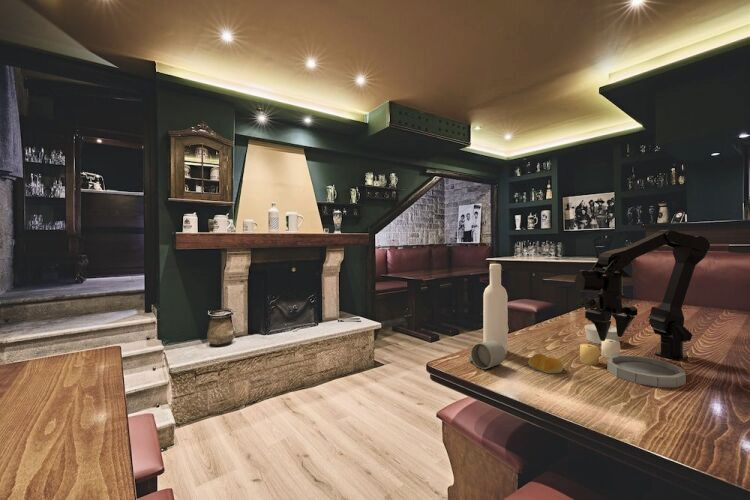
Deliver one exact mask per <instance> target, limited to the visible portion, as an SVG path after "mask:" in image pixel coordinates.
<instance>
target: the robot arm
mask: <svg viewBox="0 0 750 500" xmlns="http://www.w3.org/2000/svg"><path fill="white" fill-rule="evenodd" d="M665 245H666V246H667V247H669V248H671V249H672V254H673V258H674V261H675V262H674V265H673V267H672V268H673V269H672V271H671V275H670V277H669V281H668V284H667V286H666V287H667V288H666V290H665V292H664V296H663V299H662V302H661V304H659V306H652V307H651V308H650V313H649V315H648V317H647V318H648V319H649V320H648V324H649V325H650V327H651V328H652V330H653V332H654V333H653V334H655V335H659V336H660V337H659V339H660V340H659V341H660V343H659V344H660V345H659V351H657V352H654V355H656V356H659V357H664V358H668V359H672V360H675V361H681V360H684V359H689V355H688V354H687V355H686V354H684V343H685V342H691V340H692V337H693V333H691V332H690V331H689V330H688V329H687V328H686V327H685V316H684V313H683V304H684V302H685V300H686V295H687V293H688V290H689V287H690V283H691V280H692V277H693V274H694V271H695V269H696V266H697V265H698V264H699V263H701V262H702V260H704V259H705V257H706V255H707V254H708V252H709V250H710V247H711V244H710V241H708V239H707V238H706V237H705V236H702V235H699V236H698V235H691V234H687V233H682V232H678V231H675V230H673V229H666V230H665V229H661V230H658V231H656V232H655V233H653V234H651V235H649V236H647V237H644V238H642V239H640V240H638V241H635V242H633V243H631V244H628V245H627V246H624V247H619V248H615V249H611V250H607V251H604V252H601V253H600V254H599V255H598V258H597V261H596V262H595V263H594V265H593V266H592V267H591V268H590V270H584V269H579V270H578V273H577V274H576V277H575V279H574V286H575V288H576V290H577V291H578V292H599V291H600V293H597V294H596V297H595V298H591V297H590V296H584V297H581V298H580V306H581V307H583V308H584V309H585V311H584V318H585V319H587V321H590V322H591V324H594V325H595V327H596V329H597V332H598V335H599V338H600V340H601V341H605V339H606V336H607V333H608V331H609V328H610V326H612V325H611V324H612V320H611V319H612V318H613V319H614V321H615V327H616V329H617V336H618V337H619V338H623V335H624V334H625V332H626V331H627V329H628V327H629V326H630V324H631V323H632V322H633V321H634V319H635V318H636V317H635V316H638V309H637V308H636V306H633V305H627V304H623V299H626V294H623V280H624V279H623V278H630V277H631V275H630V274H629V273H628V272H627V271H626V270H625V268H626V267H628V266H630V265H631V264H632V263H633V262H634V260H636V259H638V258H639V257H641V256H644V255H646V254H648V253H650V252H652V251H655V250H656V249H659V248H661V247H664V246H665Z"/></svg>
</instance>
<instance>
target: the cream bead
mask: <svg viewBox="0 0 750 500" xmlns="http://www.w3.org/2000/svg"><path fill="white" fill-rule="evenodd" d="M600 347H601V351H600V352H601V355H600V356H602V357H603V358H605V359H607V357H610V356H614V355H621V342H620V341H619V340H618V341H616V340H611V339H605V341H602V345H601V346H600Z"/></svg>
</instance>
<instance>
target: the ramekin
mask: <svg viewBox="0 0 750 500" xmlns="http://www.w3.org/2000/svg"><path fill="white" fill-rule="evenodd" d="M584 330H585V335H586V339H587V340H588V341H589V342H590V343H594V344H595V345H596V344H597V345H601V346H602V341H601V340H600V338H599V335H598V332H597V329H596V327H595V325H594V324H593V323H591V324H585V325H584ZM606 339H611V340H616V341H619V339H620V337H618V336H617V329H616V326H613V325H610V328H609V331H608V333H607V336H606Z"/></svg>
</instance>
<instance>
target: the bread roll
mask: <svg viewBox="0 0 750 500" xmlns="http://www.w3.org/2000/svg"><path fill="white" fill-rule="evenodd" d="M528 366H529V367H530V368H531V369H533V370H535V371H539V372H542V373H546V374H559V373H562V372H563V369H564V365H563V362H562V361H561V360H560V359H558V358H555V357H553V356H552V357H548V356H547V355H546V354H542V353H536V354H533V355H532V356H531V357H530V358H529V359H528Z"/></svg>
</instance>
